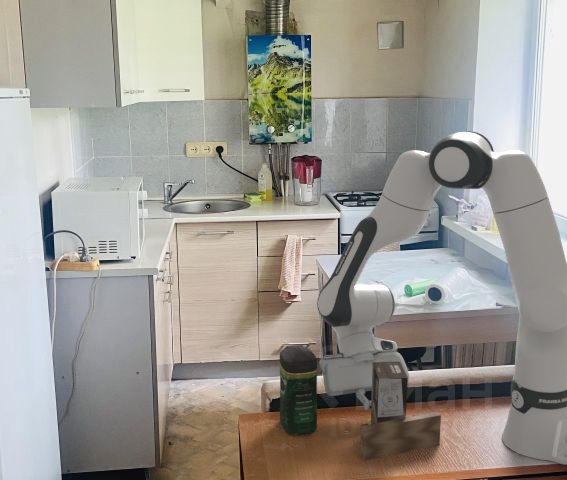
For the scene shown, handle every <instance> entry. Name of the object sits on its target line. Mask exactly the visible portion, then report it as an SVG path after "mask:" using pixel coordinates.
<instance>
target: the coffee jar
mask: <svg viewBox="0 0 567 480" xmlns="http://www.w3.org/2000/svg"><path fill="white" fill-rule="evenodd" d="M317 385H318V358H317V356H316V355H315V353H313V351H312V350H311V349H309V348H307V347H305V346H304V345H301V344H298V345H295V344H294V345H287V346H285V347H284V348H283V349H282V350H280V353H279V386H280V387H279V396H280V397H279V420H280V421H279V423H280V425H281V428H282V429H283V431H284V432H286V434H288V435H292V436H298V437H299V436H307V435H309V434H312V433H314V432H316V431H317V429H318V408H317V407H318V402H317V401H318V399H317V398H318V390H317V389H318V386H317Z"/></svg>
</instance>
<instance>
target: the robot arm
mask: <svg viewBox="0 0 567 480" xmlns="http://www.w3.org/2000/svg"><path fill="white" fill-rule="evenodd" d="M387 177H388V178H387V179H386V182H385V184H384V186H383V190H382V193H381V196H380V197H379V200H378V202H377V203H376V205H375V206H374V208H373V209H372V210H371V211H370V212H369V214H368V215H367V216H366V217H364V218H363V219H361V220H360V221H359V223H358V224H357V225H356V227H355V228H354V230H353V231H352V234H351V235H350V238H349V240H348V241H347V243H346V245H345V248H344V249H343V252H342V254H341V256H340V258H339V259H338V262H337V264H336V266H335V268H334V270H333V271H332V274H331V276H330V278H329V279H328V280H327V281H326V283H325V285H323V287H322V288H321V291H320V292H319V294H318V297H317V305H316V307H317V311H318V314H319V316H320V317H321V318H322V320H323V321H324V322H326V323H327V324H328V325H329V326H331V327H332V328H333V330H334V331H335V334H336V337H337V340H336V342H337V343H336V344H337V347H338V351H339V353H335V354H326V355H324V356H323V357H322V358H321V359H320V360H319V369H320V371H321V373H322V377H323V379H322V380H323V387H324V391H325V394H327V395H328V396H330V397H334V396H340V395H341V396H342V395H349V394H354V393H355V395H356V398H357V399H358V400H359V401H360V402H361V403H362V404H363V407H364V410H365V411H371V403H372V399H371V400H369V399H368V398H367V397H366V395H365V394H366V392H370V391H371V392H372V363H373V362H400V363H401V365H402V367H403V369H404V371H405V373H406V375H407V377H408V381H410V373H409V370H408V367H407V364H406V362H405V359H404V358H403V356H402V355H401V353H399V351H398V345H397V343H396V341H393V340H388V339H383V338H380V337H375V334H374V332H373V329H374V327H379V326H381V325H383V324H386V323H387V322H388V321H390V320H391V318H392V317H393V315H394V313H395V309H396V301H395V297H394V293H393V292H392V291H391V289H390V288H389V287H388V285H386V284H382V283H375V282H358V280H359V279H360V277H361V274H362V273H363V270H364V269H365V267H366V265H367V263H368V261H369V259H370V258H371V257H372V256H373V255H374V254H375V253H376V252H378V251H380V250H382V249H384V248H386V247H389V246H391V245H395V244H397V243H402V242H405V241H408V240H410V239H412V238H414V237H415V236H417V235H418V234H419V233H420V232H421V230H422V229H423V227H424V226H425V225H426V223H427V220H428V217H429V215H430V212H431V209H432V206H433V204H434V200H435V198H436V196H437V194H438V192H439V190H440V188H442V186H443V187H445V188H448V189H453V190H479V189H482V190H483V191H484V192H485V194H486V196H487V198H488V202H489V204H490V208H491V210H492V214H493V218H494V221H495V223H496V226H497V229H498V233H499V235H500V240H501V242H502V246H503V249H504V254H505V258H506V262H507V268H508V273H509V275H510V276H509V277H510V281H511V286H512V289H513V293H514V298H515V301H516V305H517V308H518V312H519V318H518V326H517V327H518V328H517V334H516V335H517V336H516V344H515V355H514V356H515V358H514V359H515V361H514V372H513V373H514V375H513V376H512V377H511V382H510V383H511V384H510V407H509V411H508V416H507V420H506V423H505V427H504V430H503V432H502V434H501V440H502V442H503V444H504V445H505V446H506V447H508V448H509V449H510V450H511V451H513V452H515V453H517V454H520V455H522V456H525V457H529V458H533V459H537V460H538V459H539V460H545V461H550V462H553V463H557V464H560V465H566V466H567V259H566V256H565V251H564V247H563V243H562V237H561V233H560V231H559V227H558V225H557V224H558V223H557V221H556V217H555V214H554V211H553V209H552V205H551V201H550V198H549V195H548V192H547V188H546V186H545V184H544V181H543V179H542V177H541V175H540V172H539V170H538V168H537V166H536V165H535V163H534V161H533V160H532V158H531V156H530V155H529V154H528V153H527V152H524V151H523V150H515V149H514V150H513V149H512V150H507V151H503V152H495V151H494V147H493V145H492V144H491V142H490V140H489V139H488V138H487V137H486V136H484V135H483V134H482V133H479V132H476V131H471V130H470V131H468V130H467V131H458V132H455V133H451V134H449V135H448V136H446V137H444V138H442V139H440V140H439V141H438V142H437V143H435V145H434V146H433V148H432V150H431V151H430V152H425V151H422V150H417V149H416V150H415V149H411V150H407V151H405V152H402V153H401V154H400V156H398V158H397V159H396V161H395V163H394V165H393V167H392V168H391V170H390V172H389V175H388V176H387Z"/></svg>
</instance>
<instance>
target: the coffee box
mask: <svg viewBox="0 0 567 480" xmlns="http://www.w3.org/2000/svg"><path fill="white" fill-rule="evenodd" d="M408 382H409V380H408V377H407V375H406V373H405V371H404V369H403V367H402V365H401V363H400V362H373V363H372V390H371V400H372V403H371V410H370V411H371V414H370V415H371V418H370V424H375V423H380V422H386V421H391V420H397V419H402V418H407V403H408V386H409V385H408Z"/></svg>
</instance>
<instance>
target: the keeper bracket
mask: <svg viewBox="0 0 567 480" xmlns="http://www.w3.org/2000/svg"><path fill="white" fill-rule="evenodd" d="M441 425H442V415H441V413H439V412H438V411H436V412H431V413H425V414H420V413H418V414H413V415H412V416H408V417H406V418H402V419H397V420H391V421H386V422H380V423H375V424H371V423H364V424H363V423H362V424H361V425H360V426H361V427H360V458H361V459H362V460H363V461H367V460H372V459H377V458H381V457H382V458H384V457H389V456H392V455H397V454H402V453H407V452H411V451H417V450H421V449H427V448H431V447H437V446H440V444H441Z"/></svg>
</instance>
